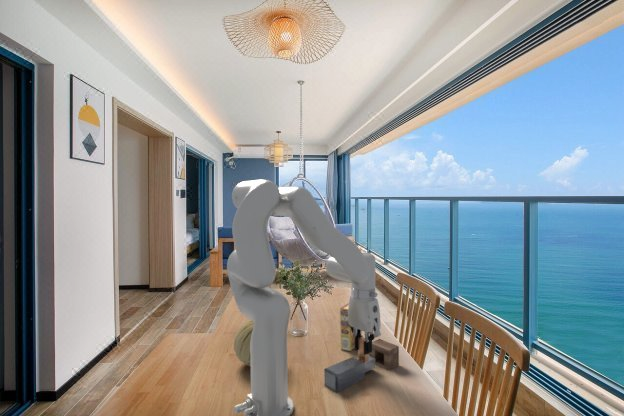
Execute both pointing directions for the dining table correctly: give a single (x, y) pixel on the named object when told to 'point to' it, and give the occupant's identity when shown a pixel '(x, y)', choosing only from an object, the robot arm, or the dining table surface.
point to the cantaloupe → (244, 343)
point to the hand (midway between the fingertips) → (363, 350)
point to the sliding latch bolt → (365, 356)
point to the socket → (385, 354)
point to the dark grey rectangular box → (344, 374)
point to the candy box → (346, 330)
